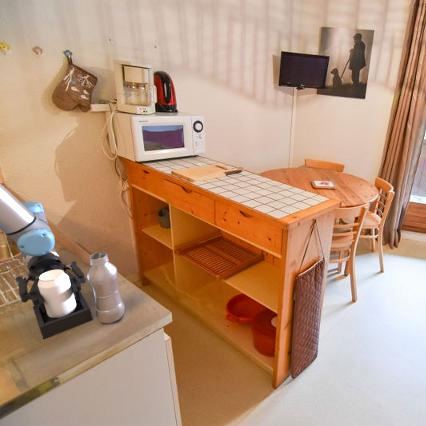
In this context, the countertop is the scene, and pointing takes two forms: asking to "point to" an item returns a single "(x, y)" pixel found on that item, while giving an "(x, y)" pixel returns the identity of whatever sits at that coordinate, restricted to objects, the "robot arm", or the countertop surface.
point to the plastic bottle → (105, 288)
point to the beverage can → (56, 293)
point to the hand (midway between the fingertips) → (61, 301)
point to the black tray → (63, 318)
